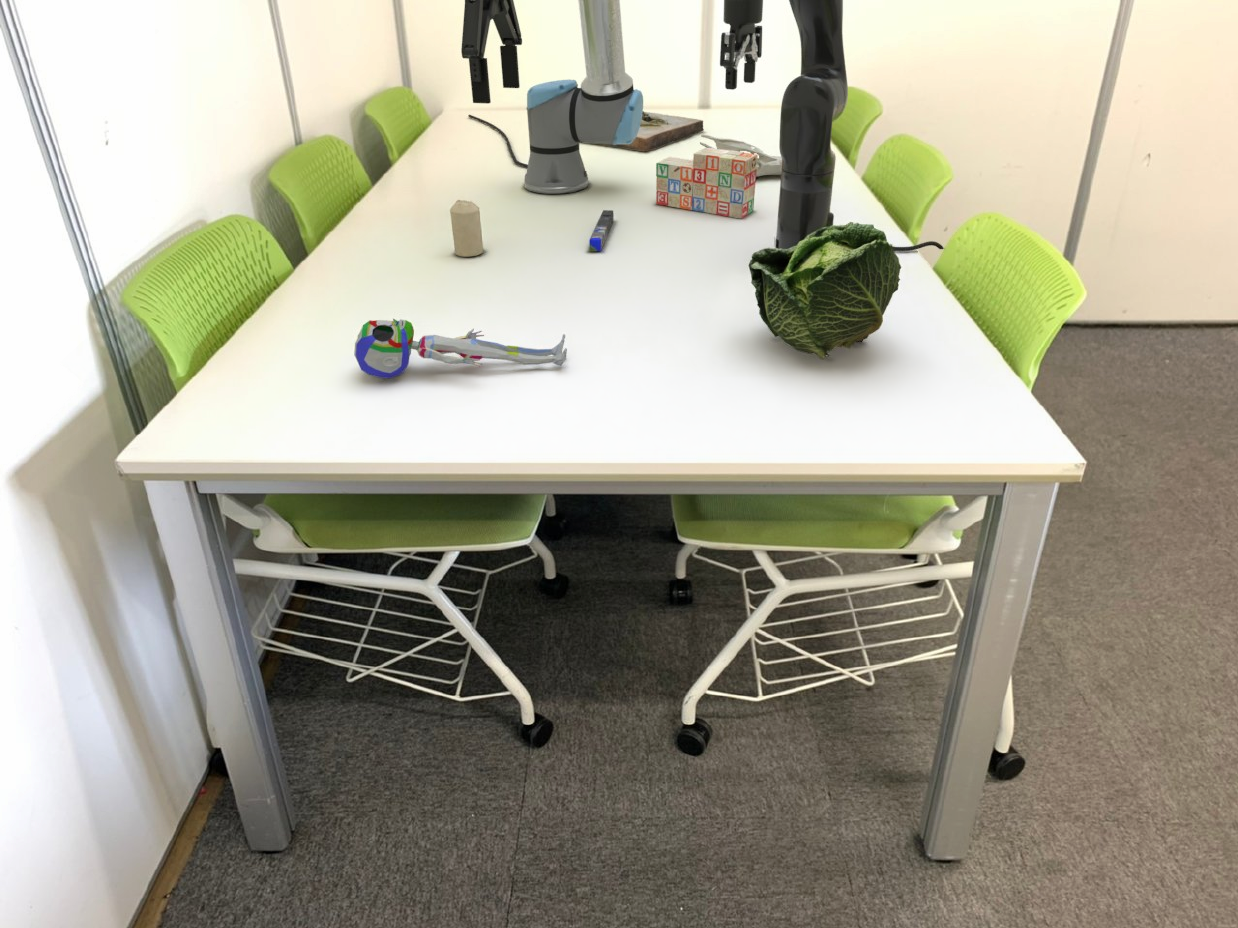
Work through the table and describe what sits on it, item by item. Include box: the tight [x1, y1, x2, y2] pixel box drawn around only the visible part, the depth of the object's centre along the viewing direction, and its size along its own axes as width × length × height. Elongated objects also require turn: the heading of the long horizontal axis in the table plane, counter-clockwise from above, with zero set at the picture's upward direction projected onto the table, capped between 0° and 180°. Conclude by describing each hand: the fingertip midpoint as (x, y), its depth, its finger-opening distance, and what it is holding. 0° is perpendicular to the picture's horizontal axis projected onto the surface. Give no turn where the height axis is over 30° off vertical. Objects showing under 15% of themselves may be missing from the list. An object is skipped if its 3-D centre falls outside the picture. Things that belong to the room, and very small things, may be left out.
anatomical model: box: [699, 133, 782, 178], centre depth 218 cm, size 15×9×25 cm
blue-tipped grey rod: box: [588, 209, 615, 252], centre depth 182 cm, size 2×2×20 cm
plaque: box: [591, 110, 705, 152], centre depth 257 cm, size 30×7×30 cm
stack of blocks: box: [655, 147, 759, 220], centre depth 195 cm, size 21×6×12 cm, turn 58°
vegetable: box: [748, 221, 902, 360], centre depth 132 cm, size 20×19×20 cm
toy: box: [353, 318, 568, 379], centre depth 130 cm, size 10×8×30 cm
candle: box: [449, 199, 484, 258], centre depth 172 cm, size 6×6×10 cm
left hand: (497, 95), depth 148 cm, fingers open, 13 cm apart
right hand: (740, 85), depth 181 cm, fingers open, 8 cm apart
